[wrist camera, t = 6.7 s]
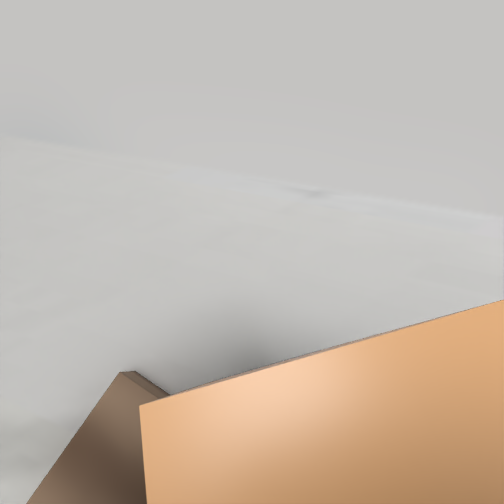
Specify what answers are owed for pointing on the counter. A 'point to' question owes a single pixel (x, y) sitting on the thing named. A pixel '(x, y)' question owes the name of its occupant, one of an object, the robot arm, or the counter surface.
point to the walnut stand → (104, 451)
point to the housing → (343, 424)
